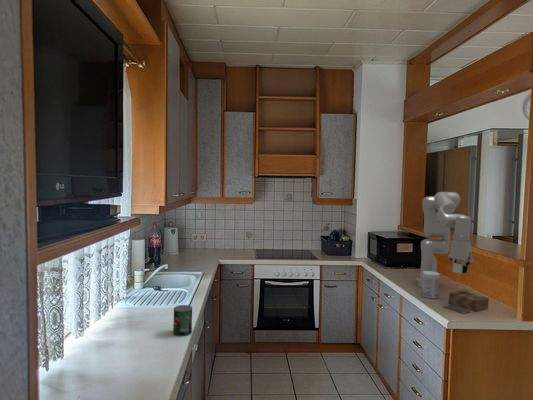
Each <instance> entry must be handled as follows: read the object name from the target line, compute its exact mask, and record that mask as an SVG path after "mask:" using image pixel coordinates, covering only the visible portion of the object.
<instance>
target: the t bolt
mask: <svg viewBox="0 0 533 400" xmlns="http://www.w3.org/2000/svg"><path fill="white" fill-rule="evenodd" d="M457 291H459V292H463V293H466V294H471V293H472V287H471V285H465V286H464V285H463V286H462V285H458V286H457Z"/></svg>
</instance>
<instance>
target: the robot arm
mask: <svg viewBox="0 0 533 400" xmlns="http://www.w3.org/2000/svg"><path fill="white" fill-rule="evenodd" d="M421 202H422V203H421V205H422V212H423V220H424V221H423V234H424V236H426V237H429V238H425V239H422V240H421V242H420V250H421V253H420V254H421V256H420V257H421V261H420V263H421V264H420V273H419V274H420V277H418V276H417V277H416V278H415V281H417V286H418V287H420V288H422V276H423V272H424V271H433V272H437V268H438V267H437V264H438V261H437V258H436V256H435V255H447V258H448V259H449V260H450V262H451V264H452V270H453V263H455V262H458V260H459V261H462V263H464V266H463V271H462V273H464V274H467V273H468V267H469V266H470V265H471V264H472V263H474V262H475V259H474V257H473V256H472V244H471V239H470V236H471V223H472V219H471V217H470V216H468V215H465V214H462V213H461V214H460V213H454V212H455V210H456V209H457V207H458V206H459V205H460V203H461V196H460V195H459V193H457V192H456V191H454V192H453V191H438V192H437V193H436V194H434V196H433V195H432V196H431V195H429V196H425V197H424V198H423V199H422V201H421ZM451 228H454V233H453V235H452V236H451ZM451 237H452V238H453V240H452V241H451ZM438 238H439V239H438ZM450 243H451V244H450Z"/></svg>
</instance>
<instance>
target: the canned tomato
mask: <svg viewBox="0 0 533 400" xmlns="http://www.w3.org/2000/svg"><path fill="white" fill-rule="evenodd" d="M192 327H193V306H192V305H188V304H187V305H186V304H185V305H184V304H181V305H176V306H174V307H173V328H172V329H173V330H172V331H173V332H172V334H173V336H176V337H187V336H190V335H191V334H192V333H193V332H192V331H193V330H192Z"/></svg>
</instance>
